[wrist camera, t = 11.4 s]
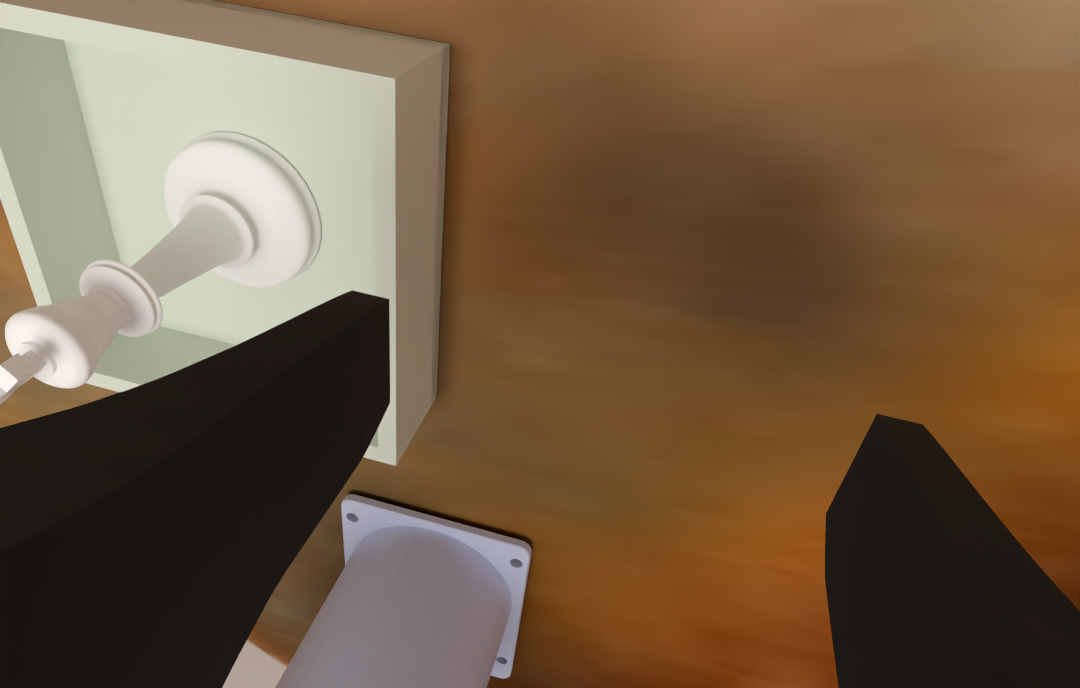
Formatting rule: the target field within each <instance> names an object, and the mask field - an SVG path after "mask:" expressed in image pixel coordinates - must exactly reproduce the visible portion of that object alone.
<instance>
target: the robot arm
mask: <svg viewBox="0 0 1080 688" xmlns="http://www.w3.org/2000/svg"><path fill="white" fill-rule="evenodd" d="M389 404H390V323H389V299H387V298H383V297H378V296H374V295H370V294H366V293H361V292H357V291H353V290H352V291H349V292H347V293H344V294H342V295H340V296H337V297H335V298H333V299H331V300H329V301H327V302H324V303H322V304H320V305H318V306H316V307H314V308H312V309H310V310H308V311H306V312H304V313H302V314H300V315H298V316H296V317H294V318H292V319H290V320H288V321H286V322H284V323H282V324H280V325H277V326H275V327H273V328H271V329H269V330H267V331H265V332H263V333H261V334H259V335H257V336H255V337H253V338H250V339H248V340H246V341H244V342H242V343H240V344H238V345H236V346H234V347H231V348H229V349H227V350H224V351H222V352H220V353H217V354H215V355H213V356H210V357H208V358H206V359H203V360H201V361H199V362H196V363H194V364H192V365H190V366H187V367H185V368H183V369H180V370H178V371H176V372H173V373H171V374H169V375H166V376H163V377H161V378H158V379H156V380H153V381H151V382H148V383H145V384H142V385H140V386H137V387H134V388H132V389H129V390H126V391H123V392H120V393H117V394H114V395H111V396H108V397H105V398H102V399H99V400H97V401H94V402H91V403H88V404H84V405H81V406H78V407H75V408H72V409H68V410H64V411H61V412H57V413H53V414H50V415H46V416H43V417H39V418H35V419H32V420H28V421H25V422H21V423H17V424H14V425H10V426H7V427H3V428H0V688H222V686H223V684H224V682H225V681H226V679H227V677H228V675H229V673H230V671H231V669H232V667H233V665H234V663H235V661H236V659H237V657H238V655H239V653H240V651H241V649H242V648H243V646H244V644H245V642H246V640H247V639H248V637H249V635H250V633H251V631H252V629H253V627H254V626H255V624H256V622H257V620H258V618H259V616H260V614H261V613H262V611H263V609H264V607H265V605H266V603H267V601H268V600H269V598H270V596H271V594H272V593H273V591H274V590H275V588H276V586H277V585H278V583H279V582H280V580H281V578H282V577H283V575H284V573H285V572H286V570H287V569H288V567H289V566H290V564H291V563H292V561H293V560H294V558H295V557H296V556H297V554H298V553H299V551H300V550H301V548H302V547H303V545H304V544H305V542H306V541H307V539H308V538H309V536H310V535H311V534H312V532H313V531H314V529H315V528H316V526H317V525H318V523H319V522H320V520H321V519H322V517H323V516H324V514H325V513H326V512H327V510H328V509H329V507H330V506H331V504H332V503H333V501H334V500H335V498H336V497H337V495H338V494H339V492H340V491H341V489H342V488H343V486H344V485H345V483H346V482H347V480H348V479H349V477H350V476H351V474H352V473H353V472H354V470H355V469H356V467H357V465H358V464H359V462H360V461H361V459H362V458H363V456H364V455H365V453H366V451H367V449H368V447H369V445H370V443H371V441H372V439H373V437H374V435H375V433H376V431H377V429H378V427H379V425H380V423H381V421H382V419H383V416H384V414H385V412H386V410H387V408H388V406H389ZM341 512H342V527H343V541H344V556H345V567H344V569H343V571H342V572H341V574H340V576H339V578H338V579H337V581H336V583H335V585H334V586H333V588H332V590H331V592H330V593H329V595H328V597H327V599H326V600H325V602H324V604H323V606H322V607H321V609H320V611H319V613H318V614H317V616H316V618H315V620H314V621H313V623H312V625H311V627H310V628H309V630H308V632H307V634H306V635H305V637H304V639H303V641H302V642H301V644H300V646H299V648H298V649H297V651H296V653H295V655H294V656H293V658H292V660H291V661H290V663H289V665H288V667H287V668H286V670H285V672H284V674H283V675H282V677H281V679H280V681H279V682H278V684H277V686H276V688H487V685H488V682H489V679H490V676H495V677H498V678H508V677H509V676H510V675H511V671H512V668H513V662H514V656H515V649H516V643H517V637H518V631H519V625H520V619H521V613H522V607H523V601H524V595H525V589H526V583H527V577H528V571H529V565H530V559H531V553H532V550H531V547H530V546H529V544H527V543H526V542H524V541H522V540H519V539H515V538H512V537H508V536H504V535H501V534H497V533H493V532H490V531H486V530H482V529H479V528H475V527H471V526H468V525H464V524H461V523H457V522H453V521H450V520H446V519H442V518H439V517H435V516H431V515H428V514H424V513H421V512H417V511H413V510H410V509H406V508H402V507H399V506H395V505H391V504H388V503H384V502H380V501H377V500H373V499H370V498H366V497H362V496H359V495H354V494H350V495H347V496H346V497H345V498H344V500H343V501H342V503H341ZM825 581H826V590H827V599H828V607H829V615H830V624H831V632H832V640H833V647H834V655H835V663H836V670H837V678H838V686H839V688H1080V611H1079V610H1078V609H1077V608H1076V607H1075V606H1074V605H1073V603H1072V602H1071V601H1070V600H1069V599H1068V598H1067V597H1066V596H1065V595H1064V594H1063V593H1062V591H1061V590H1060V589H1059V588H1058V587H1057V586H1056V585H1055V584H1054V583H1053V582H1052V580H1051V579H1050V578H1049V577H1048V576H1047V575H1046V574H1045V573H1044V571H1043V570H1042V569H1041V568H1040V567H1039V566H1038V564H1037V563H1036V562H1035V561H1034V560H1033V559H1032V558H1031V556H1030V555H1029V554H1028V553H1027V552H1026V551H1025V549H1024V548H1023V547H1022V546H1021V545H1020V543H1019V542H1018V541H1017V540H1016V539H1015V537H1014V536H1013V535H1012V534H1011V533H1010V531H1009V530H1008V529H1007V528H1006V527H1005V525H1004V524H1003V523H1002V522H1001V520H1000V519H999V518H998V517H997V516H996V514H995V513H994V512H993V511H992V509H991V508H990V507H989V506H988V504H987V503H986V502H985V501H984V499H983V498H982V497H981V496H980V494H979V493H978V492H977V491H976V489H975V488H974V487H973V486H972V484H971V483H970V482H969V481H968V479H967V478H966V477H965V476H964V474H963V473H962V472H961V471H960V469H959V468H958V467H957V465H956V464H955V463H954V462H953V460H952V459H951V458H950V457H949V455H948V454H947V453H946V452H945V450H944V449H943V448H942V447H941V446H940V444H939V443H938V442H937V441H936V439H935V438H934V437H933V436H932V435H931V434H930V432H929V431H928V430H927V429H926V428H925V427H924V426H923V425H922V424H918V423H913V422H909V421H905V420H901V419H896V418H892V417H888V416H884V415H879V414H877V415H876V417H875V419H874V421H873V423H872V425H871V427H870V429H869V430H868V432H867V434H866V436H865V438H864V440H863V442H862V444H861V446H860V448H859V450H858V452H857V454H856V456H855V458H854V460H853V462H852V464H851V466H850V468H849V470H848V472H847V474H846V476H845V478H844V480H843V482H842V483H841V485H840V487H839V489H838V491H837V493H836V495H835V497H834V499H833V501H832V503H831V505H830V507H829V509H828V511H827V513H826V538H825Z"/></svg>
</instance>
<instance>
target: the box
mask: <svg viewBox="0 0 1080 688" xmlns="http://www.w3.org/2000/svg"><path fill="white" fill-rule="evenodd" d="M449 66H450V44H449V43H443V42H438V41H432V40H427V39H421V38H416V37H411V36H405V35H400V34H394V33H389V32H384V31H378V30H373V29H367V28H362V27H356V26H351V25H346V24H340V23H335V22H329V21H324V20H319V19H313V18H308V17H302V16H297V15H291V14H286V13H281V12H275V11H270V10H264V9H259V8H253V7H248V6H243V5H237V4H232V3H226V2H221V1H216V0H0V199H1V202H2V204H3V207H4V210H5V213H6V216H7V219H8V222H9V225H10V228H11V230H12V233H13V236H14V239H15V242H16V245H17V248H18V251H19V254H20V257H21V259H22V262H23V265H24V268H25V271H26V274H27V277H28V280H29V283H30V286H31V288H32V291H33V294H34V297H35V300H36V303H37V306H44V305H50V304H55V303H59V302H62V301H65V300H67V299H71V298H75V297H81V293H80V288H79V281H80V277H81V275H82V273H83V272H84V271H85V270H86V268H87V266H88V265H89V264H91V263H92V262H94V261H97V260H101V259H109V260H115V261H118V262H121V263H123V264H126V265H128V266H130V267H131V266H132V265H134V264H135V263H136V262H137V261H138V260H140V259H141V258H142V257H143V256H144V255H146V254H147V253H148V252H149V251H150V250H151V249H152V248H153V247H154V246H155V245H157V244H158V243H159V242H160V241H161V240H162V239H163V238H164V237H165V236H166V235H167V234H168V233H169V232H171V231H172V230H173V229H174V227H173V225H172V223H171V221H170V218H169V215H168V212H167V209H166V205H165V199H164V180H165V175H166V171H167V169H168V166H169V164H170V162H171V161H172V159H173V158H174V157H175V155H176V154H177V153H178V152H179V151H181V150H182V149H183V148H185V147H186V146H187V145H188V144H189V143H190V142H191V141H193V140H194V139H196V138H198V137H200V136H202V135H205V134H208V133H213V132H233V133H238V134H242V135H245V136H248V137H251V138H253V139H256V140H258V141H260V142H262V143H264V144H265V145H267V146H269V147H270V148H272V149H273V150H274V151H276V152H277V153H278V154H280V155H281V156H282V157H283V158H284V159H285V160H286V161H288V162H289V163H290V164H291V166H292V167H293V168H294V169H295V170H296V171H297V172H298V174H299V175H300V176H301V178H302V179H303V181H304V182H305V184H306V185H307V187H308V189H309V190H310V192H311V194H312V196H313V199H314V201H315V204H316V207H317V210H318V214H319V218H320V225H321V238H320V245H319V249H318V252H317V254H316V256H315V258H314V260H313V262H312V263H311V264H310V266H309V267H308V268H307V269H306V270H305V271H303V272H302V273H301V274H299V275H297V276H295V277H293V278H292V279H290V280H289V281H287V282H285V283H283V284H280V285H277V286H273V287H266V288H257V287H249V286H244V285H240V284H237V283H234V282H232V281H229V280H227V279H225V278H223V277H221V276H220V275H218V274H216V273H215V272H213V271H211V270H210V271H208V272H206V273H204V274H202V275H200V276H198V277H196V278H194V279H192V280H191V281H189V282H187V283H185V284H183V285H181V286H179V287H178V288H176V289H174V290H172V291H171V292H169V293H167V294H166V295H164V296H162V297H160V298H159V299H160V302H161V305H162V309H163V319H162V322H161V324H160V326H159V327H158V328H157V329H156V330H155V331H154V332H152V333H149V334H146V335H143V336H140V337H129V336H125V335H121V334H119V333H117V334H116V336H115V338H114V340H113V341H112V343H111V344H110V345H109V346H108V348H107V349H106V351H105V352H104V354H103V356H102V357H101V360H100V362H99V365H98V366H97V368H96V370H95V371H94V373H93V374H92V376H91V377H90V378H89V379H88V381H86V382H85V383H87V384H91V385H95V386H99V387H102V388H106V389H110V390H114V391H117V392H123V391H126V390H129V389H132V388H134V387H137V386H140V385H142V384H145V383H148V382H151V381H153V380H156V379H158V378H161V377H163V376H166V375H169V374H171V373H173V372H176V371H178V370H180V369H183V368H185V367H187V366H190V365H192V364H194V363H196V362H199V361H201V360H203V359H206V358H208V357H210V356H213V355H215V354H217V353H220V352H222V351H224V350H227V349H229V348H231V347H234V346H236V345H238V344H240V343H242V342H244V341H246V340H248V339H250V338H253V337H255V336H257V335H259V334H261V333H263V332H265V331H267V330H269V329H271V328H273V327H275V326H277V325H280V324H282V323H284V322H286V321H288V320H290V319H292V318H294V317H296V316H298V315H300V314H302V313H304V312H306V311H308V310H310V309H312V308H314V307H316V306H318V305H320V304H322V303H324V302H327V301H329V300H331V299H333V298H335V297H337V296H340V295H342V294H344V293H347V292H349V291H352V290H353V291H357V292H361V293H366V294H370V295H374V296H378V297H383V298H387V299H389V323H390V404H389V406H388V408H387V410H386V412H385V414H384V416H383V419H382V421H381V423H380V425H379V427H378V429H377V431H376V433H375V435H374V437H373V439H372V441H371V443H370V445H369V447H368V449H367V451H366V453H365V455H364V456H363V457H364V458H368V459H372V460H376V461H379V462H383V463H387V464H391V465H394V466H397V464H398V462H399V460H400V459H401V457H402V455H403V454H404V452H405V450H406V448H407V447H408V445H409V443H410V442H411V440H412V438H413V436H414V435H415V433H416V431H417V429H418V428H419V426H420V424H421V423H422V421H423V419H424V417H425V416H426V414H427V412H428V411H429V409H430V407H431V405H432V404H433V402H434V400H435V399H436V395H437V370H438V344H439V319H440V294H441V268H442V243H443V218H444V193H445V167H446V142H447V117H448V91H449Z"/></svg>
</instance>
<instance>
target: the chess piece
mask: <svg viewBox="0 0 1080 688" xmlns="http://www.w3.org/2000/svg"><path fill="white" fill-rule="evenodd" d="M164 199H165V205H166V209H167V212H168V215H169V218H170V221H171V223H172V225H173V227H174V229H173V230H172V231H171V232H169V233H168V234H167V235H166V236H165V237H164V238H163V239H162V240H161V241H160V242H159V243H158V244H157V245H155V246H154V247H153V248H152V249H151V250H150V251H149V252H148V253H147V254H146V255H144V256H143V257H142V258H141V259H140V260H138V261H137V262H136V263H135V264H134V265H132V266H131V267H130V266H128V265H126V264H123V263H121V262H118V261H115V260H109V259H101V260H97V261H94V262H92V263H91V264H89V265H88V266H87V268H86V270H85V271H84V272H83V273H82V275H81V277H80V281H79V288H80V293H81V297H75V298H71V299H67V300H65V301H62V302H59V303H55V304H50V305H44V306H38V307H34V308H30V309H26V310H23V311H20V312H18V313H16V314H14V315H13V316H12V317H11V318H10V319H9V320H8V321H7V324H6V327H5V339H6V343H7V346H8V348H9V350H10V352H11V354H12V355H13V357H11V358H10V359H8V360H7V361H5V362H4V363H2V364H1V365H0V404H1V403H3V402H4V401H5V400H6V399H7V398H8V397H9V396H10V395H11V394H12V393H13V392H14V391H15V390H16V389H17V388H18V387H19V386H21V385H22V384H24V383H25V382H26V381H28V380H29V379H30V378H32V377H35V378H37V379H38V380H40V381H42V382H44V383H46V384H49V385H52V386H55V387H59V388H75V387H78V386H81V385H83V384H84V383H85V382H86V381H88V379H89V378H90V377H91V376H92V374H93V373H94V371H95V370H96V368H97V366H98V365H99V362H100V360H101V357H102V356H103V354H104V352H105V351H106V349H107V348H108V346H109V345H110V344H111V343H112V341H113V340H114V338H115V336H116V334H117V333H119V334H121V335H125V336H129V337H140V336H143V335H146V334H149V333H152V332H154V331H155V330H156V329H157V328H158V327H159V326H160V324H161V322H162V319H163V309H162V305H161V302H160V299H159V298H160V297H162V296H164V295H166V294H167V293H169V292H171V291H172V290H174V289H176V288H178V287H179V286H181V285H183V284H185V283H187V282H189V281H191V280H192V279H194V278H196V277H198V276H200V275H202V274H204V273H206V272H208V271H210V270H211V271H213V272H215V273H216V274H218V275H220V276H221V277H223V278H225V279H227V280H229V281H232V282H234V283H237V284H240V285H244V286H249V287H257V288H266V287H273V286H277V285H280V284H283V283H285V282H287V281H289V280H290V279H292V278H293V277H295V276H297V275H299V274H301V273H302V272H303V271H305V270H306V269H307V268H308V267H309V266H310V264H311V263H312V262H313V260H314V258H315V256H316V254H317V252H318V249H319V245H320V238H321V225H320V218H319V214H318V210H317V207H316V204H315V201H314V199H313V196H312V194H311V192H310V190H309V189H308V187H307V185H306V184H305V182H304V181H303V179H302V178H301V176H300V175H299V174H298V172H297V171H296V170H295V169H294V168H293V167H292V166H291V164H290V163H289V162H288V161H286V160H285V159H284V158H283V157H282V156H281V155H280V154H278V153H277V152H276V151H274V150H273V149H272V148H270V147H269V146H267V145H265V144H264V143H262V142H260V141H258V140H256V139H253V138H251V137H248V136H245V135H242V134H238V133H233V132H213V133H208V134H205V135H202V136H200V137H198V138H196V139H194V140H193V141H191V142H190V143H189V144H188V145H187V146H186V147H185V148H183V149H182V150H181V151H179V152H178V153H177V154H176V155H175V157H174V158H173V159H172V161H171V162H170V164H169V166H168V169H167V171H166V175H165V180H164Z"/></svg>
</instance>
